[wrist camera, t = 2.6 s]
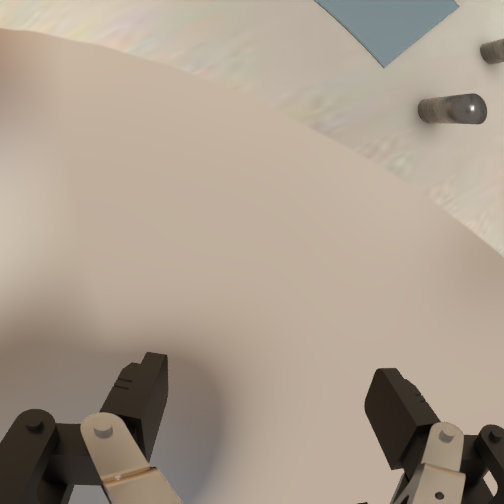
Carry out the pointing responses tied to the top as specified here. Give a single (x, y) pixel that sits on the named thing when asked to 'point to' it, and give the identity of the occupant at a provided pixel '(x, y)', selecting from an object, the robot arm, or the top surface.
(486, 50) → the right post
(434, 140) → the top surface
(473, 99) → the left post
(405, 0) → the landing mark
